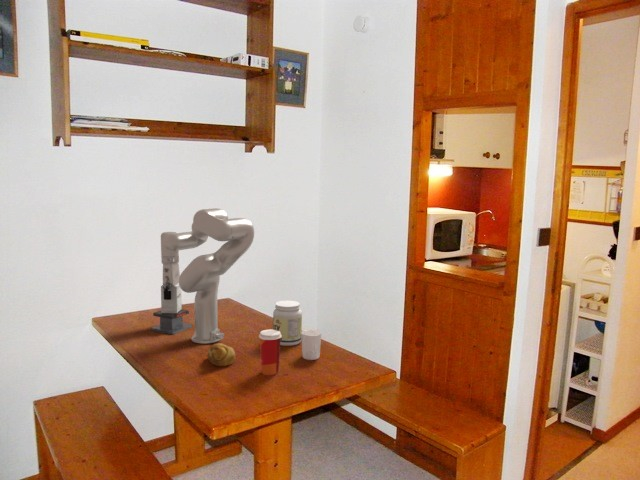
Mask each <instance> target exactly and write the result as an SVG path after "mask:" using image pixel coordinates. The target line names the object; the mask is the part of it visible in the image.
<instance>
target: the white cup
mask: <svg viewBox="0 0 640 480" xmlns="http://www.w3.org/2000/svg"><path fill="white" fill-rule="evenodd" d="M301 338H302V339H301V350H302V351H301V352H302V358H303V359H304V360H308V361H313V360H314V361H315V360H317V359H319V358H320V355H321V354H320V353H321V345H322V331H320V330H318V329H304V330H302V332H301Z"/></svg>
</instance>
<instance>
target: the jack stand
mask: <svg viewBox="0 0 640 480" xmlns="http://www.w3.org/2000/svg"><path fill="white" fill-rule="evenodd" d="M189 313H190V311H189V310H188V309H184V308H183V309H181V310H180V311H179V312H178V313H177V314H172V313H161V309H160V310H158V311H155V312H153V314H152V316H153V317H156V318H157V317H158V318H159V324H157V325H154V326H152V327H150V331H152V332H157V333H162V334H166V335H172V336H174V335H176V334H178V333H181V332H183V331H187V330H188V329H190V328H193V324H191V323H187V322H186V323H185V322H184V320H183V319H184V318H183V316H187V315H188V314H189Z"/></svg>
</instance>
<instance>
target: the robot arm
mask: <svg viewBox="0 0 640 480" xmlns="http://www.w3.org/2000/svg"><path fill="white" fill-rule="evenodd" d="M192 219H193V220H192V224H191V230H190V231H186V232H185V231H184V232H175V231H164V232H161V234H160V257H161V259H160V260H161V261H160V262H161V264H162V285H163V288H164V289H163V291H164V300H171V291H170V289H171V285H172V286H174V285H176V284H178V283H179V286H180V288H181V291H183V292H184V293H188V294H189V293H191V294H192V293H195V295H194V296H195V297H194V334H193V335H192V336H191V337H190V338H191V341H192V342H193V343H195V344H196V343H197V344H204V345H205V344H213V343H214V344H215V343H218V342H219V341H221V340H223V339H224V337H225V332H221V331H220V328H218V319H219V317H218V296H219V295H218V294H219V293H218V292H219V285H220V280H221V279H220V278H221V277H220V276H222V275H224V274H226V273H227V272H228V271H229V270H230V269H231V267H232V266H233V265H235V263H236V262H237V261H238V260H239V259H240V258H241V257H242V256H244V254H245V253H246V252H247V251H248V250H250V247H251V246H252V244H253V242H254V239H255V228H254V225H253V223H252V222H251V221H250V220H249V219H247V218H245V217H244V218H243V217H235V218H229V215H228V213H227V212H226V211H225V210H224V209H221V208H205V209H199V210H198V211H196V212H195V214H194V215H193V218H192ZM208 238H211V239H213V240H214V241H218V242H224V243H223V244H222V245H221V246H220V248H219V249H217V250H216V251H214V252H212V253H208V254H207V253H206V254H201V255H198V256H196V257H195V258H193V259H192V260H191V262H190V263H188V265H187V266H186V267H185V268H184V269H183V271H182V272H180V265H179V264H180V257H179V255H180V254H179V253H180V251H183V250H190V249H192V250H193V249H196V248H198V247H199V246H201V245H203V244H204V243H205V242H207V241H208ZM180 273H181V274H180ZM168 286H169V288H168Z"/></svg>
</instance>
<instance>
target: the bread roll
mask: <svg viewBox="0 0 640 480" xmlns="http://www.w3.org/2000/svg"><path fill="white" fill-rule="evenodd" d="M207 358H208V361H209V362H210V363H211V364H212V365H214V366H217V367H227V366H230V365H232V364H233V363H234V362H235V360H236V352H235V349H234V348H233V347H232V346H229V345H226V344H224V343H223V342H222V343H221V342H215V343H214V344H212V345H211V346H210V347H209V348H208V351H207Z"/></svg>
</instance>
